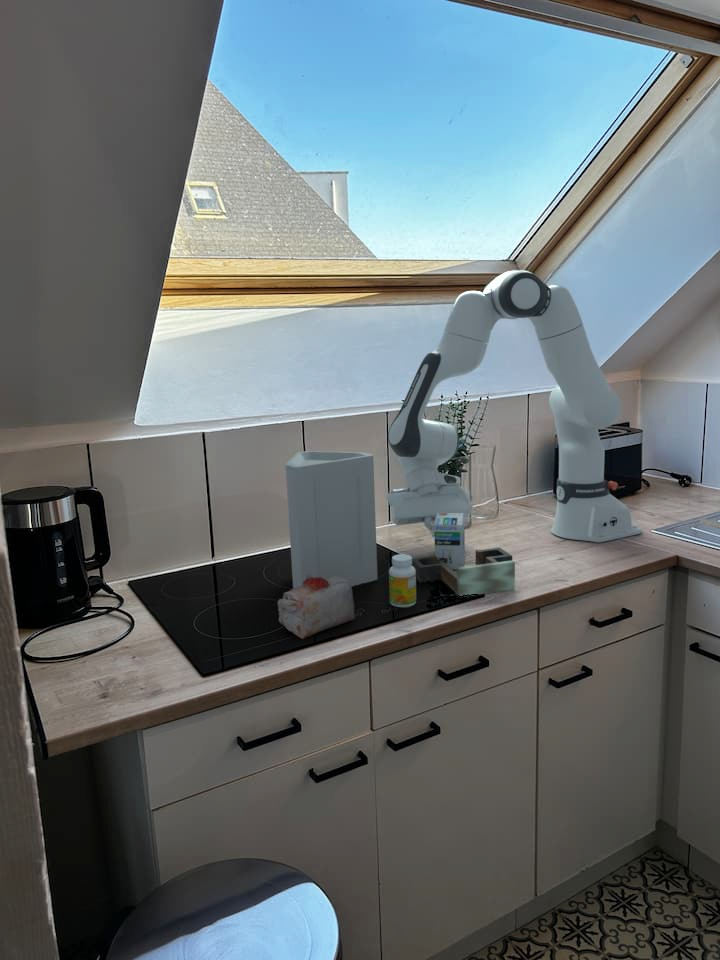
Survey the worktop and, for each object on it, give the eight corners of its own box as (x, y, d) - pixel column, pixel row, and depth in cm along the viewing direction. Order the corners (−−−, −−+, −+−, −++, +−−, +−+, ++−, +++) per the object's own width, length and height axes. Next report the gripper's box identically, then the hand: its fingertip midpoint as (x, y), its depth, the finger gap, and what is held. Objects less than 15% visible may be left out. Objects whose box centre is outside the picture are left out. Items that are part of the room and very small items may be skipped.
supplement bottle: (384, 603, 146) (382, 558, 144) (401, 595, 150) (400, 551, 148) (404, 610, 143) (403, 563, 141) (421, 602, 147) (420, 556, 144)
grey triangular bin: (344, 562, 173) (339, 446, 166) (379, 579, 160) (374, 455, 154) (272, 579, 163) (263, 457, 157) (303, 599, 150) (295, 467, 144)
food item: (300, 644, 130) (297, 592, 128) (276, 630, 136) (272, 581, 134) (359, 622, 138) (357, 573, 136) (333, 610, 144) (331, 563, 142)
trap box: (498, 561, 169) (499, 536, 167) (534, 586, 152) (535, 559, 151) (410, 572, 163) (409, 547, 162) (438, 600, 147) (437, 572, 146)
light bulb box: (464, 570, 164) (463, 524, 161) (434, 570, 165) (433, 524, 162) (465, 555, 174) (464, 512, 172) (437, 555, 175) (436, 512, 173)
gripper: (387, 483, 176) (400, 533, 169) (465, 476, 181) (481, 524, 174) (382, 497, 182) (395, 545, 175) (458, 489, 187) (473, 536, 179)
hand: (439, 535), depth 174 cm, fingers closed
